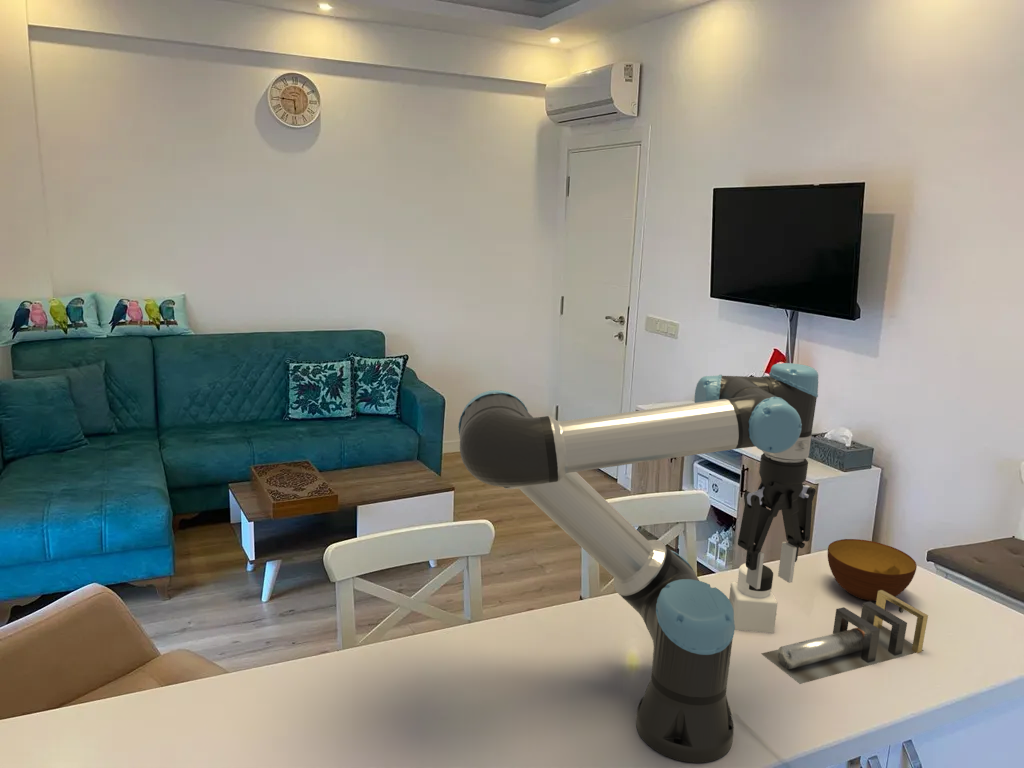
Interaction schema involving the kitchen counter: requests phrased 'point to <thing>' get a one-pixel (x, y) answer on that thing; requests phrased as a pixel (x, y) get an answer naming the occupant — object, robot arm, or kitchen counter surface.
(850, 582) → the bowl
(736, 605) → the container
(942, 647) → the kitchen counter surface
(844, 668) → the board
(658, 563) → the robot arm
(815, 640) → the tube
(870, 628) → the collar
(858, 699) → the kitchen counter surface
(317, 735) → the kitchen counter surface
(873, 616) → the collar
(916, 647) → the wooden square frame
